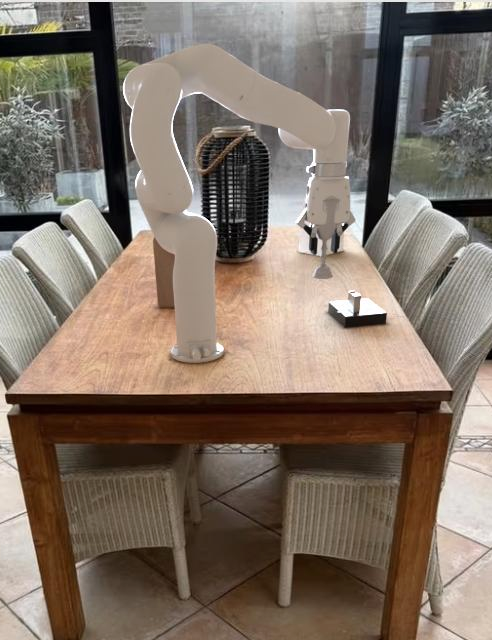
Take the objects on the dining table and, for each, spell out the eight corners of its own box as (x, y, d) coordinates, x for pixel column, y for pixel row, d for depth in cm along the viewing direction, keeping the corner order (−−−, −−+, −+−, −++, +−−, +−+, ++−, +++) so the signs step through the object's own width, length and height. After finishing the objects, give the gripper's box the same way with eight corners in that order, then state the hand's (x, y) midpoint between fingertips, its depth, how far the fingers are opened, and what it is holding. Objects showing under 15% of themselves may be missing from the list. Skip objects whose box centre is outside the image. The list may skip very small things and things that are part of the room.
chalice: (303, 278, 161) (307, 200, 152) (312, 272, 167) (316, 196, 158) (332, 280, 158) (338, 201, 149) (341, 274, 163) (346, 197, 154)
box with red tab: (359, 313, 168) (361, 294, 166) (353, 313, 168) (354, 295, 166) (353, 308, 172) (355, 289, 170) (347, 308, 172) (348, 290, 170)
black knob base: (386, 324, 169) (387, 312, 167) (341, 328, 168) (342, 316, 166) (366, 309, 181) (367, 297, 179) (324, 312, 180) (325, 301, 178)
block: (190, 308, 190) (186, 237, 179) (157, 308, 192) (151, 237, 181) (197, 299, 198) (194, 230, 188) (165, 299, 200) (160, 230, 190)
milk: (320, 246, 252) (323, 173, 239) (343, 250, 244) (348, 174, 231) (298, 252, 246) (300, 176, 233) (321, 256, 238) (325, 178, 225)
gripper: (297, 174, 147) (294, 258, 156) (370, 170, 148) (362, 254, 157) (289, 171, 153) (286, 252, 162) (358, 167, 155) (352, 248, 164)
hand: (323, 252), depth 160 cm, fingers closed on chalice, 4 cm apart
